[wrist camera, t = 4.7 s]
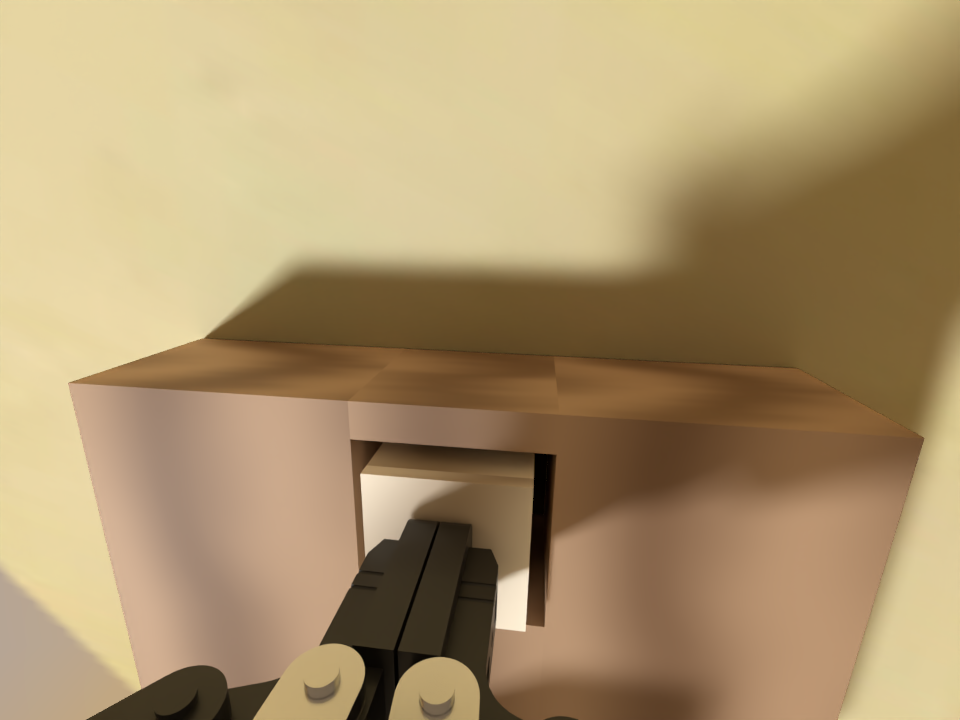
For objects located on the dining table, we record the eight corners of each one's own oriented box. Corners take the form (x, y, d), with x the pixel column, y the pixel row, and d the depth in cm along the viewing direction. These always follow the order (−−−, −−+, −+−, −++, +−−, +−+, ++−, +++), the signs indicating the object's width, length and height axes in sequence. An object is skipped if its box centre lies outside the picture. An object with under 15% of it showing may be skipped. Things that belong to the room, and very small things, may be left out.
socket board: (798, 368, 14) (924, 437, 10) (716, 745, 19) (775, 920, 14) (202, 338, 17) (68, 382, 12) (254, 680, 21) (171, 812, 16)
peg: (535, 405, 15) (533, 488, 10) (529, 512, 16) (525, 631, 11) (415, 397, 16) (360, 473, 11) (418, 502, 17) (368, 613, 12)
